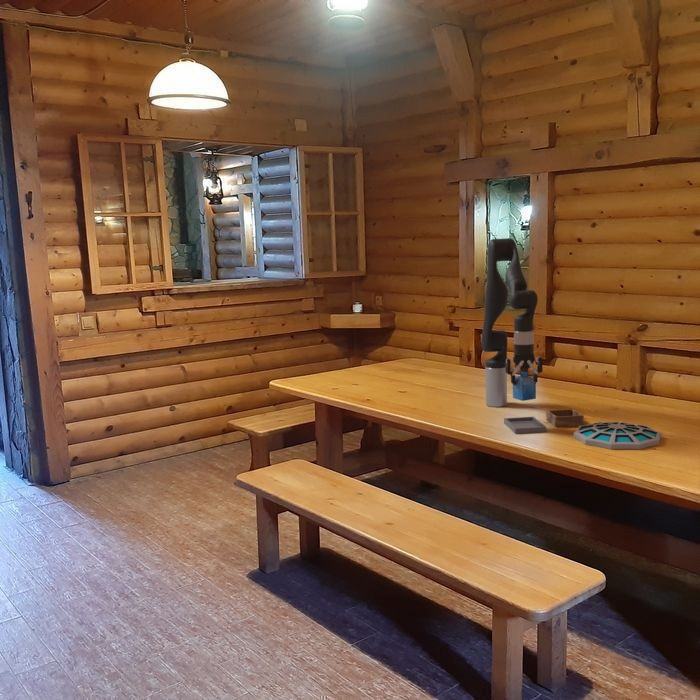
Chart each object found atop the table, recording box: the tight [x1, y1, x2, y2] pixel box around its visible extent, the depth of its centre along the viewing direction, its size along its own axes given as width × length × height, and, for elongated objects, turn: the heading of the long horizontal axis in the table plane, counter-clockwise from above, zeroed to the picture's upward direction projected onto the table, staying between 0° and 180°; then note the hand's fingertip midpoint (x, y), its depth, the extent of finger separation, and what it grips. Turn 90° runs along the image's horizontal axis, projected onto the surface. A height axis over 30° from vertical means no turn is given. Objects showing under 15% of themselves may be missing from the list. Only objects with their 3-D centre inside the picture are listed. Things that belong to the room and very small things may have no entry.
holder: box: [545, 408, 585, 428], centre depth 288 cm, size 11×11×4 cm
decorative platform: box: [573, 421, 663, 450], centre depth 265 cm, size 31×29×5 cm
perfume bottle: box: [512, 368, 537, 402], centre depth 282 cm, size 6×6×12 cm
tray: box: [503, 416, 547, 435], centre depth 284 cm, size 16×12×2 cm
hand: (524, 384), depth 282 cm, fingers closed on perfume bottle, 7 cm apart
